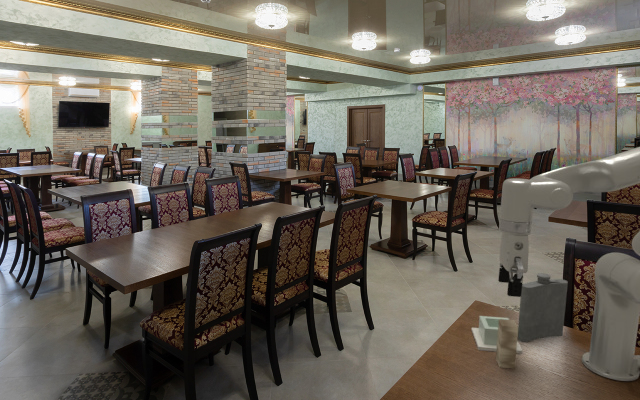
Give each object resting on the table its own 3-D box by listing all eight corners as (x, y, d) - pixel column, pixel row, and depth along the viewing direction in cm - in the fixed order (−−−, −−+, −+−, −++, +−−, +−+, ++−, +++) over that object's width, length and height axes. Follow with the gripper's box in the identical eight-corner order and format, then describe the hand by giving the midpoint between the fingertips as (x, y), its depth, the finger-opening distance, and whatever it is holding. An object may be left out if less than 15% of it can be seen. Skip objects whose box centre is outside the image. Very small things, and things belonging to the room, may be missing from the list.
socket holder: (511, 333, 128) (512, 315, 127) (522, 354, 116) (524, 334, 115) (471, 330, 130) (472, 312, 129) (478, 350, 118) (479, 330, 117)
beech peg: (511, 360, 113) (514, 320, 111) (515, 368, 109) (518, 327, 107) (495, 358, 114) (498, 319, 112) (499, 366, 110) (502, 325, 108)
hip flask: (522, 343, 122) (527, 280, 119) (512, 336, 126) (517, 275, 123) (564, 335, 126) (571, 274, 123) (554, 329, 130) (560, 270, 127)
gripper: (541, 235, 96) (534, 303, 99) (521, 220, 112) (515, 278, 115) (507, 233, 97) (501, 300, 100) (492, 218, 114) (487, 276, 117)
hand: (509, 288), depth 108 cm, fingers open, 9 cm apart
